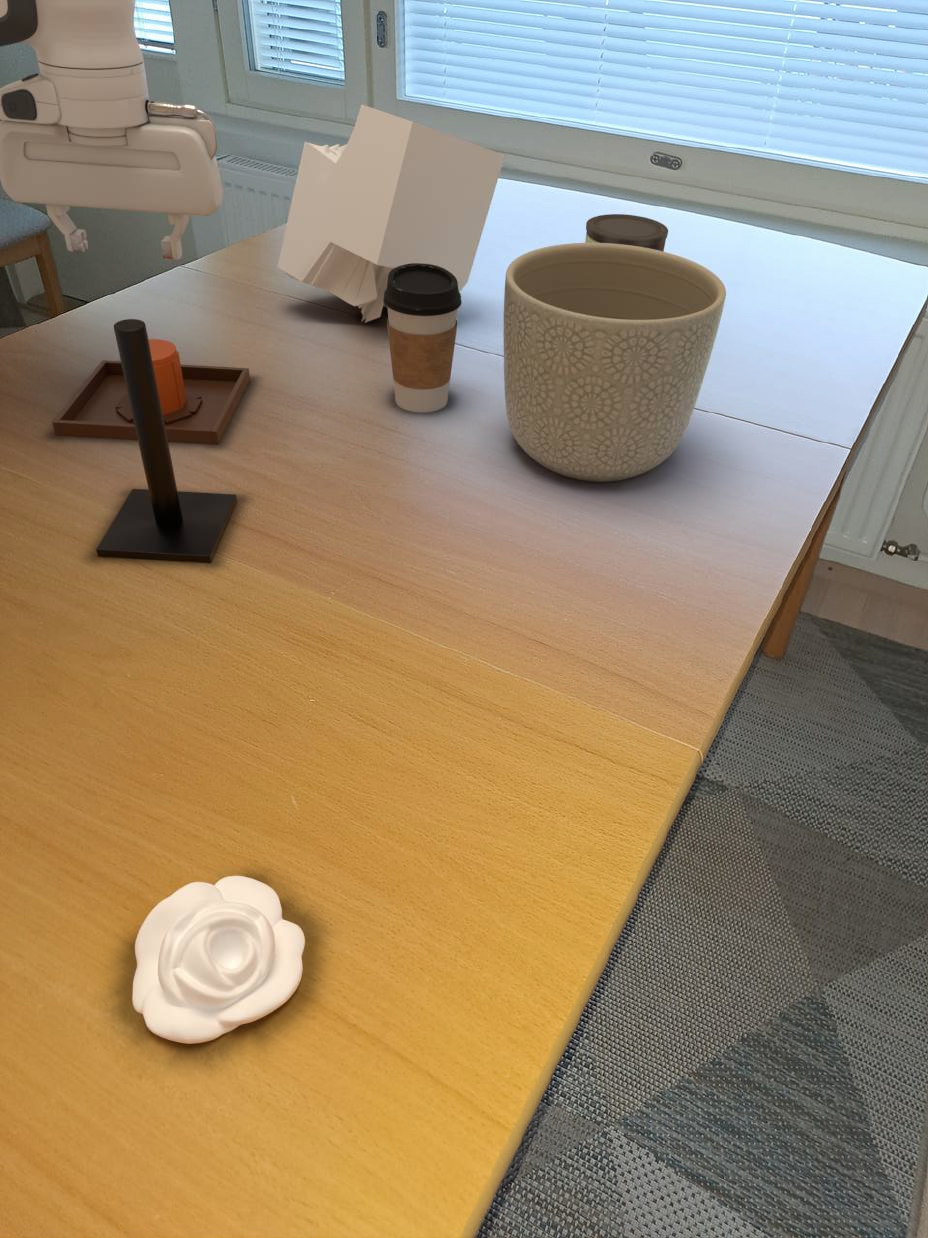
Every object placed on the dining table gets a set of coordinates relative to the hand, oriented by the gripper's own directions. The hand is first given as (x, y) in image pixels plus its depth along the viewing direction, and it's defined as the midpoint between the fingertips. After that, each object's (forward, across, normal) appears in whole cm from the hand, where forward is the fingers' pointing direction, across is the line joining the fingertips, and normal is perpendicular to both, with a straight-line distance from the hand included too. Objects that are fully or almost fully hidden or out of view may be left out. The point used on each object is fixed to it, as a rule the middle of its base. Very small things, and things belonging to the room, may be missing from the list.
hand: (125, 253), depth 91 cm
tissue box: (+17, -23, -32) cm, 43 cm away
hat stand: (+17, -9, +23) cm, 30 cm away
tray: (+17, -1, 0) cm, 17 cm away
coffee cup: (+17, -30, -5) cm, 34 cm away
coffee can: (+17, -54, -29) cm, 63 cm away
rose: (+17, -24, +65) cm, 71 cm away
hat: (+17, -1, 0) cm, 17 cm away
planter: (+17, -49, +4) cm, 52 cm away
